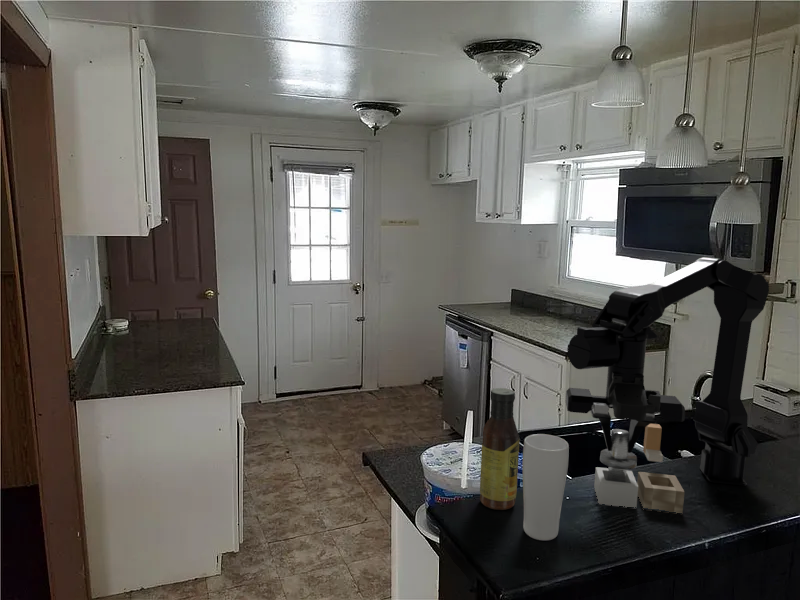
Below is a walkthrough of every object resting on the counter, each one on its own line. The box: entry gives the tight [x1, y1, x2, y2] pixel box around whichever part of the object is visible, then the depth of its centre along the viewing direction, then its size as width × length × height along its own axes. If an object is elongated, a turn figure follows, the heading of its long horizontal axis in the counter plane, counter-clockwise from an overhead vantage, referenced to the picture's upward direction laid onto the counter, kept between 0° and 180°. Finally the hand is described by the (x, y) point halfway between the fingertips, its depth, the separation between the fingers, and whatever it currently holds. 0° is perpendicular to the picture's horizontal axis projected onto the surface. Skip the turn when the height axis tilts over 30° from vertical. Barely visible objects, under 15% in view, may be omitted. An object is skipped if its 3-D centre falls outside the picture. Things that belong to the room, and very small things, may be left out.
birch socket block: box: [636, 471, 685, 514], centre depth 101 cm, size 6×6×4 cm
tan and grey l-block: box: [642, 423, 664, 463], centre depth 107 cm, size 2×5×5 cm, turn 168°
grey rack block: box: [593, 466, 638, 509], centre depth 102 cm, size 6×6×4 cm
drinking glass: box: [521, 433, 570, 542], centre depth 90 cm, size 7×7×15 cm
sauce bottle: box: [479, 387, 520, 511], centre depth 98 cm, size 7×6×20 cm
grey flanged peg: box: [599, 428, 638, 483], centre depth 101 cm, size 6×6×9 cm
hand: (618, 451), depth 101 cm, fingers closed on grey flanged peg, 3 cm apart
